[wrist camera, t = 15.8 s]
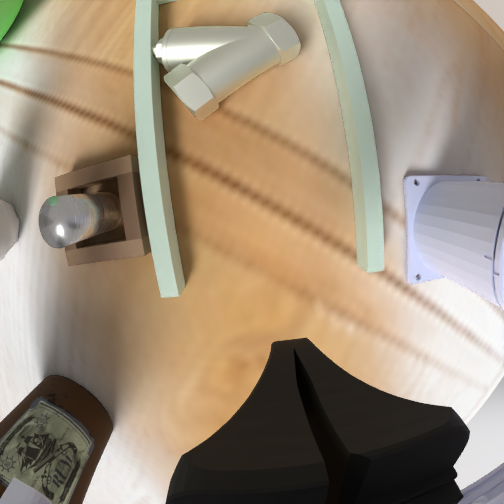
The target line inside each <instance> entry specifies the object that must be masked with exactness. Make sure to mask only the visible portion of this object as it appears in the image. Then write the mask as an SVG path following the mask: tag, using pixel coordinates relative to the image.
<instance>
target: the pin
mask: <svg viewBox="0 0 504 504" xmlns="http://www.w3.org/2000/svg"><path fill="white" fill-rule="evenodd" d="M121 219H122V211H121V204H120V200H119V198H118V197H117V196H116V195H115V194H113V193H110V192H98V193H85V194H73V195H62V196H53V197H50V198H49V199H47V200H46V201H45V202H44V204H43V205H42V207H41V210H40V214H39V228H40V232H41V235H42V237H43V239H44V240H45V242H46V243H47V244H48V245H50V246H51V247H53V248H63V247H66V246H68V245H71V244H74V243H76V242H79V241H82V240H85V239H87V238H90V237H93V236H96V235H99V234H102V233H105V232H108V231H110V230H113V229H115V228H116V227H117V226H118V225H119V223H120V222H121Z"/></svg>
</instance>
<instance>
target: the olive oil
mask: <svg viewBox="0 0 504 504" xmlns="http://www.w3.org/2000/svg"><path fill="white" fill-rule="evenodd" d="M112 430H113V426H112V422H111V419H110V417H109V415H108V413H107V411H106V410H105V408H104V407H103V406H102V405H101V403H100V402H99V401H98V400H97V399H96V398H95V397H94V396H93V395H92V394H91V393H89V392H88V391H87V390H86V389H84V388H83V387H82V386H80V385H79V384H77V383H75V382H73V381H72V380H69V379H67V378H64V377H61V376H48V377H46V378H45V379H44V380H43V381H42V382H41V383H40V384H39V385H38V386H37V387H36V388H35V389H34V390H33V391H32V392H31V393H30V394H29V395H28V396H27V397H26V398H25V399H24V400H23V401H22V402H21V403H20V404H19V405H18V406H17V407H16V408H15V409H13V410H12V411H11V412H10V413H9V414H8V415H7V416H6V417H5V418H4V419H3V420H2V421H1V422H0V498H1V497H2V495H3V494H4V492H5V490H6V489H7V487H8V486H9V484H10V483H11V481H12V480H13V478H16V479H18V480H20V481H22V482H23V483H25V484H27V485H29V486H31V487H32V488H34V489H36V490H37V491H39V492H40V493H42V494H43V495H44V496H45V497H46V498H47V499H48V500H49V501H50V502H51V503H52V504H82V503H83V500H84V498H85V495H86V492H87V490H88V487H89V485H90V482H91V480H92V477H93V474H94V472H95V470H96V467H97V465H98V462H99V460H100V458H101V456H102V454H103V451H104V449H105V447H106V445H107V443H108V440H109V438H110V436H111V434H112Z"/></svg>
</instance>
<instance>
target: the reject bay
mask: <svg viewBox="0 0 504 504" xmlns="http://www.w3.org/2000/svg"><path fill="white" fill-rule="evenodd" d="M172 1H176V0H136V12H135V30H134V104H135V123H136V137H137V149H138V160H139V169H140V178H141V186H142V194H143V201H144V208H145V215H146V222H147V228H148V234H149V240H150V245H151V251H152V256H153V261H154V266H155V271H156V276H157V281H158V285H159V290H160V294H161V298H166V297H177V296H179V295H180V294H181V292H182V291H183V289H184V288H185V286H186V285H185V280H184V275H183V269H182V264H181V258H180V252H179V247H178V241H177V235H176V228H175V222H174V215H173V208H172V201H171V194H170V186H169V178H168V170H167V161H166V152H165V142H164V131H163V120H162V106H161V91H160V70H159V62H158V60H157V58H154V56H153V55H152V47H153V46H154V45H157V42H158V41H159V5H160V4H164V3H168V2H172ZM314 1H315V4H316V8H317V11H318V14H319V17H320V21H321V24H322V28H323V31H324V35H325V38H326V42H327V46H328V50H329V54H330V58H331V62H332V66H333V71H334V75H335V80H336V84H337V89H338V94H339V99H340V105H341V110H342V116H343V122H344V128H345V134H346V141H347V148H348V155H349V163H350V171H351V180H352V190H353V201H354V213H355V228H356V247H357V265H358V266H359V267H360V268H362V269H363V270H365V271H366V272H367V273H371V272H377V271H383V270H384V233H383V213H382V198H381V187H380V176H379V167H378V159H377V151H376V144H375V138H374V131H373V125H372V119H371V114H370V109H369V104H368V99H367V94H366V89H365V85H364V80H363V76H362V72H361V68H360V64H359V60H358V57H357V53H356V49H355V46H354V42H353V39H352V36H351V32H350V29H349V26H348V23H347V20H346V17H345V14H344V11H343V8H342V6H341V3H340V0H314Z"/></svg>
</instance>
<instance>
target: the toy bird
mask: <svg viewBox="0 0 504 504" xmlns="http://www.w3.org/2000/svg"><path fill="white" fill-rule="evenodd" d="M23 1H24V0H0V41H1V39H2V38H3V37H4V35H5V34H6V33H7V31H8V30H9V28H10V27H11V25H12V23H13V22H14V20H15V18H16V16H17V14H18V12H19V10H20V8H21V6H22V3H23Z"/></svg>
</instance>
